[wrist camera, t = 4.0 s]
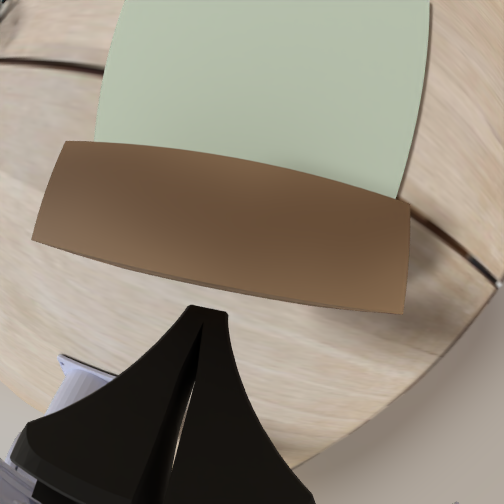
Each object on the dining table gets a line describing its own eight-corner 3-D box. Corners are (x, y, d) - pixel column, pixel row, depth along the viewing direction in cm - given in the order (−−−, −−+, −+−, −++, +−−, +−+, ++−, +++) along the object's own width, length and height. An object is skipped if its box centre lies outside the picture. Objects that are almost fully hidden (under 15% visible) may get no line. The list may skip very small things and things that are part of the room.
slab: (312, 306, 14) (402, 314, 6) (126, 269, 13) (31, 240, 5) (320, 250, 14) (410, 204, 6) (140, 215, 14) (65, 141, 6)
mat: (375, 245, 14) (377, 248, 14) (95, 191, 13) (91, 192, 13) (426, -1, 7) (429, -3, 7) (152, -52, 6) (150, -55, 6)
